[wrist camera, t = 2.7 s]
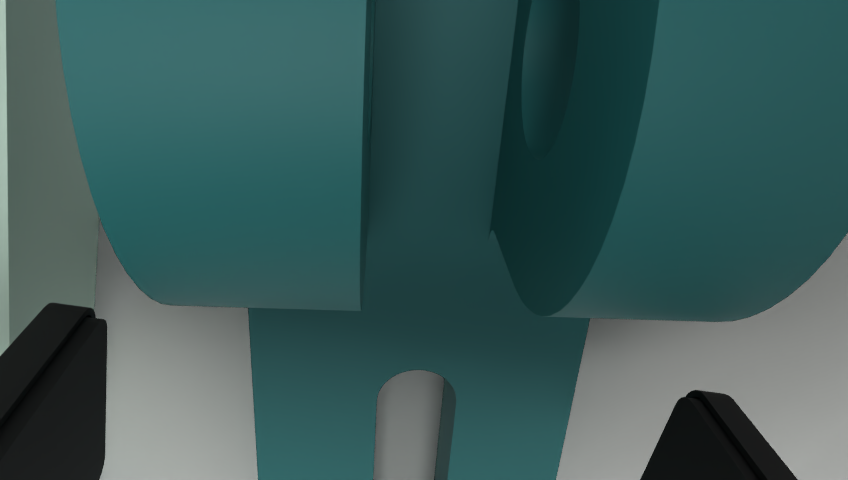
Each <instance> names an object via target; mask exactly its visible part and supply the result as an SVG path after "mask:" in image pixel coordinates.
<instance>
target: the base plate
mask: <svg viewBox="0 0 848 480" xmlns="http://www.w3.org/2000/svg"><path fill="white" fill-rule="evenodd" d="M98 231H99V214H98V212H97V209H96V206H95V204H94V201H93V198H92V195H91V192H90V188H89V185H88V182H87V178H86V175H85V171H84V168H83V164H82V161H81V157H80V153H79V148H78V144H77V140H76V135H75V131H74V127H73V122H72V118H71V113H70V107H69V101H68V95H67V90H66V84H65V78H64V72H63V66H62V58H61V49H60V41H59V33H58V24H57V16H56V2H55V0H0V356H1V355H2V354H3V352H4V351H5V350H6V349H7V348H8V347H9V346H10V345H11V344H12V342H13V341H14V340H15V339H16V338H17V337H18V336H19V335H20V334H21V332H22V331H23V330H24V329H25V328H26V327H27V326H28V325H29V324H30V322H31V321H32V320H33V319H34V318H35V317H36V316H37V315H38V314H39V312H40V311H41V310H42V309H43V308H44V307H45V306H46V305H47V304H49V303H60V304H68V305H75V306H82V307H90V308H92V309H93V310H94V305H95V286H96V268H97V249H98Z"/></svg>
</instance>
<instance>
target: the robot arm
mask: <svg viewBox="0 0 848 480" xmlns="http://www.w3.org/2000/svg"><path fill="white" fill-rule="evenodd" d="M106 364H107V323H106V321H105V320H104V319H97V318H95V312H94V310H93V309H92V308H90V307H82V306H75V305H68V304H60V303H49V304H47V305H46V306H45V307H44V308H43V309H42V310H41V311H40V312H39V314H38V315H37V316H36V317H35V318H34V319H33V320H32V321H31V322H30V324H29V325H28V326H27V327H26V328H25V329H24V330H23V331H22V332H21V334H20V335H19V336H18V337H17V338H16V339H15V340H14V341H13V342H12V344H11V345H10V346H9V347H8V348H7V349H6V350H5V351H4V352H3V354H2V355H1V356H0V480H99V478H100V476H101V473H102V469H103V465H104V460H105V423H106ZM640 480H798V479H797V478H796V477H795V476H794V475H793V473H792V472H791V471H790V470H789V468H788V467H787V466H786V465H785V463H784V462H783V461H782V460H781V458H780V457H779V456H778V455H777V453H776V452H775V451H774V450H773V448H772V447H771V446H770V445H769V443H768V442H767V441H766V440H765V438H764V437H763V436H762V435H761V433H760V432H759V431H758V430H757V429H756V427H755V426H754V425H753V424H752V422H751V421H750V420H749V419H748V417H747V416H746V415H745V414H744V412H743V411H742V410H741V409H740V407H739V406H738V405H737V404H736V402H735V401H734V400H733V399H732V398H731V397H730V396H729V395H726V394H721V393H714V392H706V391H699V390H694V391H691V392H690V393H688V394H687V396H686V397H683V398H680V399H679V400H678V402H677V403H676V405H675V407H674V409H673V411H672V413H671V416H670V418H669V420H668V422H667V424H666V426H665V428H664V430H663V433H662V435H661V437H660V439H659V441H658V443H657V445H656V447H655V450H654V452H653V454H652V456H651V458H650V460H649V462H648V464H647V467H646V469H645V471H644V473H643V475H642V477H641V479H640Z"/></svg>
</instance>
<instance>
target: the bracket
mask: <svg viewBox="0 0 848 480" xmlns="http://www.w3.org/2000/svg"><path fill="white" fill-rule="evenodd" d="M55 2H56V16H57V24H58V33H59V41H60V49H61V58H62V66H63V72H64V78H65V84H66V90H67V95H68V101H69V107H70V113H71V118H72V122H73V127H74V131H75V135H76V140H77V144H78V148H79V153H80V157H81V161H82V164H83V168H84V171H85V175H86V178H87V182H88V185H89V188H90V192H91V195H92V198H93V201H94V204H95V206H96V209H97V212H98V214H99V217H100V220H101V223H102V225H103V228H104V230H105V232H106V234H107V237H108V239H109V241H110V243H111V245H112V247H113V249H114V252H115V254H116V255H117V257H118V259H119V260H120V262H121V264H122V265H123V267H124V269H125V271H126V272H127V274H128V275H129V276H130V278H131V279H132V280H133V281H134V283H135V284H136V285H137V286H138V288H139V289H140V290H142V291H143V292H144V293H145V294H146V295H147V296H148V297H150V298H151V299H153V300H155V301H157V302H159V303H161V304H166V305H178V306H211V307H244V308H248V314H249V331H250V348H251V365H252V382H253V399H254V416H255V433H256V450H257V467H258V480H373V471H374V449H375V427H376V406H377V397H378V393H379V391H380V389H381V388H382V386H383V385H384V384H385V383H386V382H387V381H388V380H389V379H390V378H392V377H393V376H395V375H397V374H399V373H402V372H406V371H411V370H426V371H430V372H434V373H436V374H438V375H440V376H442V377H443V378H445V379H444V389H443V399H442V409H441V418H440V428H439V438H438V448H437V458H436V468H435V477H434V480H556V476H557V472H558V467H559V462H560V458H561V453H562V448H563V443H564V439H565V434H566V429H567V425H568V420H569V415H570V410H571V406H572V401H573V396H574V392H575V387H576V382H577V377H578V373H579V368H580V363H581V359H582V354H583V349H584V345H585V340H586V335H587V330H588V326H589V321H590V318H607V319H640V320H673V321H706V322H723V321H735V320H739V319H743V318H748V317H751V316H753V315H755V314H758V313H760V312H762V311H765V310H767V309H769V308H771V307H772V306H774V305H775V304H777V303H778V302H780V301H782V300H783V299H785V298H786V297H788V296H789V295H790V294H792V293H793V292H794V291H795V290H796V289H797V288H799V287H800V286H801V285H802V284H803V283H805V282H806V281H807V280H808V279H809V278H810V277H811V276H812V275H813V274H814V273H815V272H816V271H817V270H818V268H819V267H820V266H821V265H822V264H823V263H824V262H825V261H826V260H827V259H828V258H829V257H830V255H831V254H832V253H833V251H834V250H835V249H836V247H837V246H838V245H839V243H840V242H841V241H842V239H843V238H844V237H845V235H846V234H847V233H848V0H55Z"/></svg>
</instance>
